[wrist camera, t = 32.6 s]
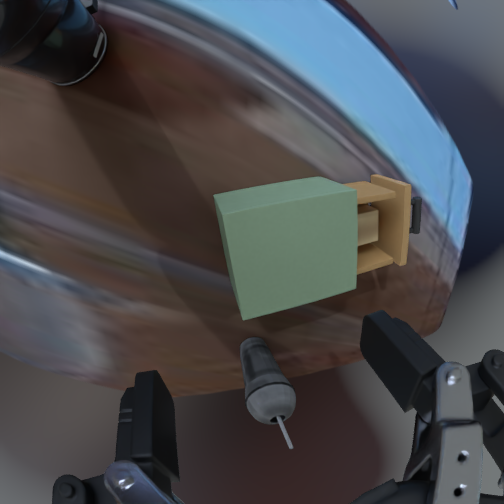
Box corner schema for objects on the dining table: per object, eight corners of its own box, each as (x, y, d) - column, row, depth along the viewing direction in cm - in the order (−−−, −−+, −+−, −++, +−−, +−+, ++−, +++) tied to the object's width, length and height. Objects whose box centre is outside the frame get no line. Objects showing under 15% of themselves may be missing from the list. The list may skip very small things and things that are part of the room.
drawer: (400, 171, 38) (434, 181, 31) (398, 238, 43) (428, 256, 36) (293, 186, 36) (319, 199, 29) (300, 263, 41) (323, 290, 34)
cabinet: (319, 176, 37) (357, 189, 28) (324, 258, 42) (356, 288, 34) (213, 194, 35) (221, 214, 26) (230, 280, 40) (242, 320, 32)
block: (334, 206, 37) (350, 215, 33) (360, 201, 38) (378, 209, 34) (335, 236, 39) (351, 247, 35) (361, 230, 40) (378, 240, 36)
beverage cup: (260, 323, 44) (303, 424, 27) (280, 348, 48) (322, 440, 30) (223, 345, 45) (248, 450, 27) (245, 367, 48) (275, 462, 30)
